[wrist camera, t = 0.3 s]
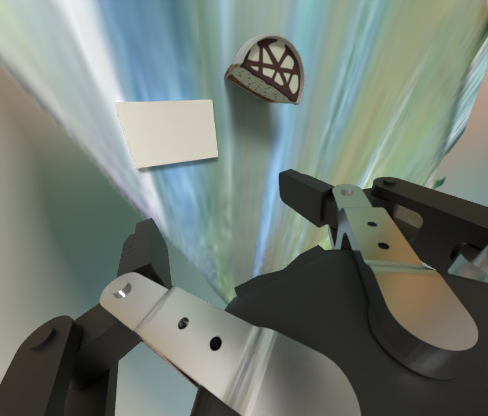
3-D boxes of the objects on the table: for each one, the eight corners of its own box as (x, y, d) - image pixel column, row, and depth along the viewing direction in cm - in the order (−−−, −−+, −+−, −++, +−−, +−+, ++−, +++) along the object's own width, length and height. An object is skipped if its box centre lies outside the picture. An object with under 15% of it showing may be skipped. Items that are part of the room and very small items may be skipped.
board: (115, 102, 28) (113, 102, 27) (210, 99, 33) (212, 99, 32) (136, 166, 33) (136, 168, 32) (216, 155, 38) (218, 156, 37)
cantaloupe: (372, 200, 70) (418, 218, 58) (397, 188, 74) (445, 204, 62) (365, 228, 78) (404, 250, 66) (388, 216, 81) (429, 235, 69)
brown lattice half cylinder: (283, 73, 36) (320, 63, 28) (270, 106, 38) (302, 105, 30) (228, 31, 30) (256, 3, 22) (216, 73, 32) (238, 60, 24)
